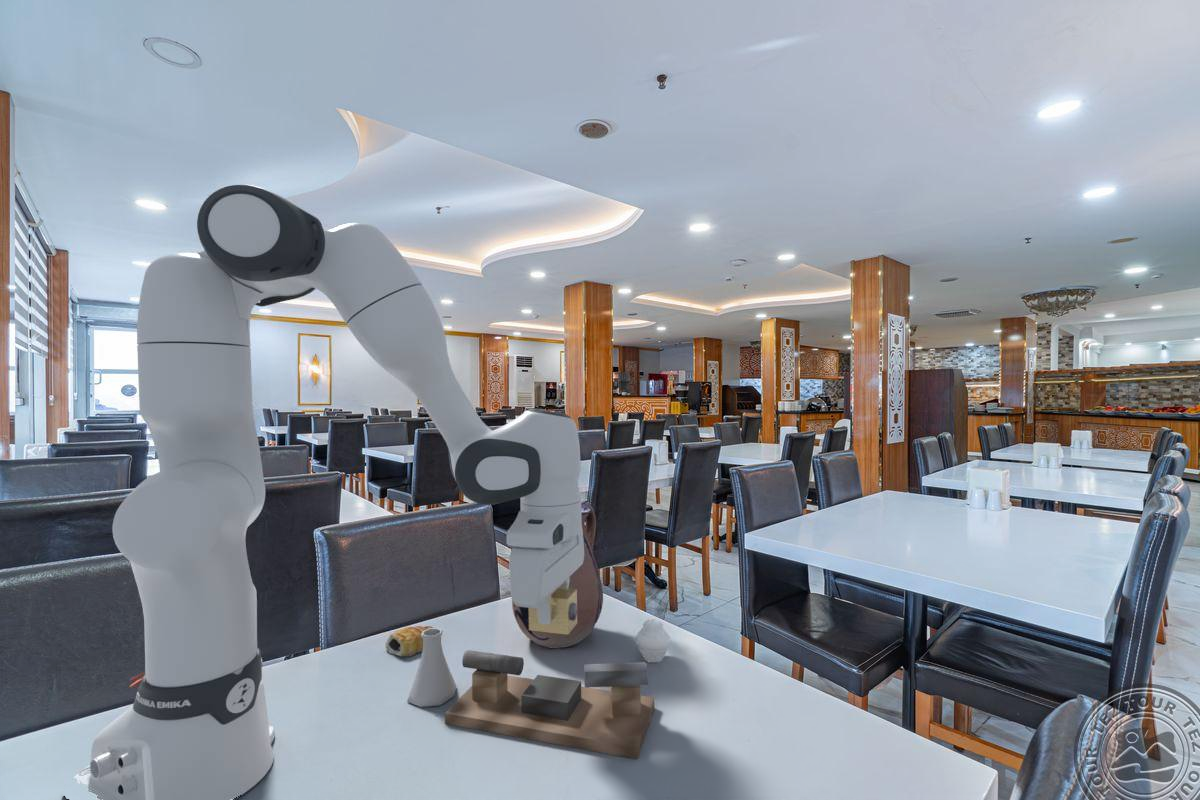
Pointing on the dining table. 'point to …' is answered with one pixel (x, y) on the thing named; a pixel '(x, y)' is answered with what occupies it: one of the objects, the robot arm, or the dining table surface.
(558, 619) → the tan rectangular block
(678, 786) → the dining table surface
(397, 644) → the pastry
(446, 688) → the flask
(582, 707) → the shaft stand
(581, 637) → the ceramic pitcher
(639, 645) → the white rounded piece
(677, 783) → the dining table surface
